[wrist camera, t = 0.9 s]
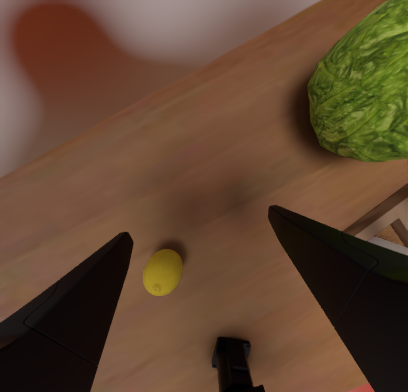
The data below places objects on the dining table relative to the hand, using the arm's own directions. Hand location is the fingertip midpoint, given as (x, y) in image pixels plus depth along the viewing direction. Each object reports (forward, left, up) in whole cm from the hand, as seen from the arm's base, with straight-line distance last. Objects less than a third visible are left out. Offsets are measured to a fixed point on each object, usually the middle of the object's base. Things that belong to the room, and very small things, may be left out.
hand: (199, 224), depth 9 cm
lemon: (-12, +3, -16) cm, 20 cm away
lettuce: (+18, -22, -16) cm, 32 cm away
